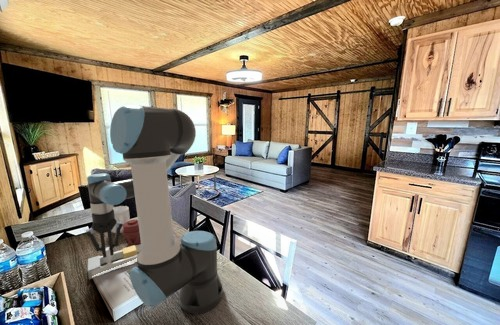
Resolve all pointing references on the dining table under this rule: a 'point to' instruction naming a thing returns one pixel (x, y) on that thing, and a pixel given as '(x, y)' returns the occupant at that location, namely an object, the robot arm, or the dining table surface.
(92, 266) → the white slotted console
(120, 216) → the mug
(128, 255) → the block
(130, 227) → the mechanical component
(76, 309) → the dining table surface
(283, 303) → the dining table surface
